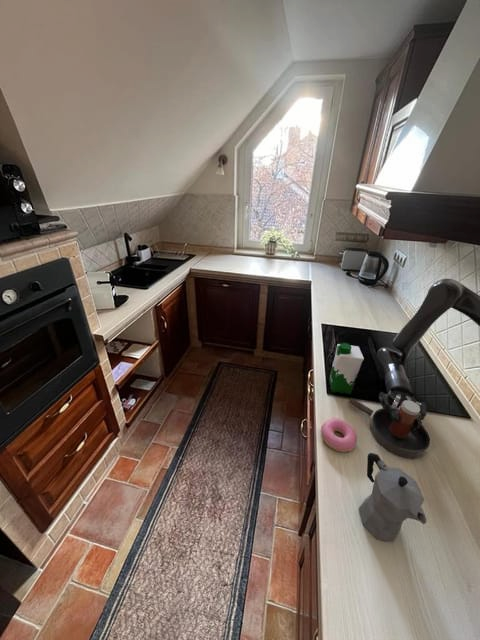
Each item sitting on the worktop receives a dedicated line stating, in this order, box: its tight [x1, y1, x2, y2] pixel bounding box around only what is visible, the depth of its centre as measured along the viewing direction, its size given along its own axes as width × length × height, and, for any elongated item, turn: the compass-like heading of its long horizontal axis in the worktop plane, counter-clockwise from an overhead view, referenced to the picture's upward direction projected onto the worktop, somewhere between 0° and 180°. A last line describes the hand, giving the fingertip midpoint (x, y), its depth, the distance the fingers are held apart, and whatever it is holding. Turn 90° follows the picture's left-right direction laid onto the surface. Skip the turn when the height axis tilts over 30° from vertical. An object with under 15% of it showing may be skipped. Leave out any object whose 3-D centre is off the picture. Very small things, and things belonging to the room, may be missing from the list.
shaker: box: [389, 400, 420, 439], centre depth 79 cm, size 5×5×12 cm
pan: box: [369, 407, 431, 460], centre depth 82 cm, size 16×16×4 cm
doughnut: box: [320, 417, 358, 453], centre depth 80 cm, size 11×11×4 cm
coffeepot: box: [358, 452, 427, 543], centre depth 59 cm, size 15×9×18 cm, turn 16°
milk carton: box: [328, 342, 365, 395], centre depth 96 cm, size 9×9×20 cm
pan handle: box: [347, 397, 374, 417], centre depth 90 cm, size 8×2×1 cm, turn 44°
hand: (407, 423), depth 77 cm, fingers closed on shaker, 5 cm apart
